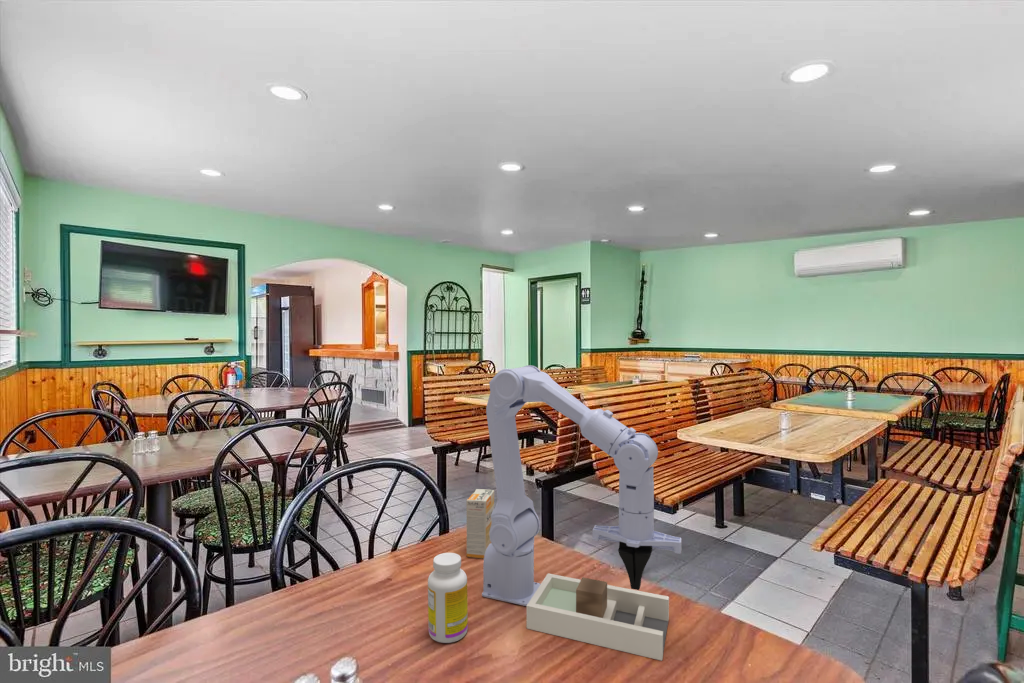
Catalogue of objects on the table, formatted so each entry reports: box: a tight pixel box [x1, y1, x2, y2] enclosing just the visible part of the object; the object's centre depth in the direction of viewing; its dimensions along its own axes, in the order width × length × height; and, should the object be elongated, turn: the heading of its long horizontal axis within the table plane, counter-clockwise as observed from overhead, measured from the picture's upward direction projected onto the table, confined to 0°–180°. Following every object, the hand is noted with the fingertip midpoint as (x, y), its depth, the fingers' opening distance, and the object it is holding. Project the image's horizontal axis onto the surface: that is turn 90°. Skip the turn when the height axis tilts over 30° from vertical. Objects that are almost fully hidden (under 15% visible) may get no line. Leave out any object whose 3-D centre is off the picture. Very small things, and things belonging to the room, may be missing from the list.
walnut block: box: [576, 576, 608, 618], centre depth 89 cm, size 4×4×4 cm
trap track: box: [526, 573, 670, 661], centre depth 89 cm, size 22×12×4 cm, turn 68°
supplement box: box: [465, 488, 495, 560], centre depth 117 cm, size 8×5×13 cm, turn 168°
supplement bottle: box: [427, 552, 469, 644], centre depth 86 cm, size 7×7×13 cm
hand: (635, 586), depth 86 cm, fingers closed
